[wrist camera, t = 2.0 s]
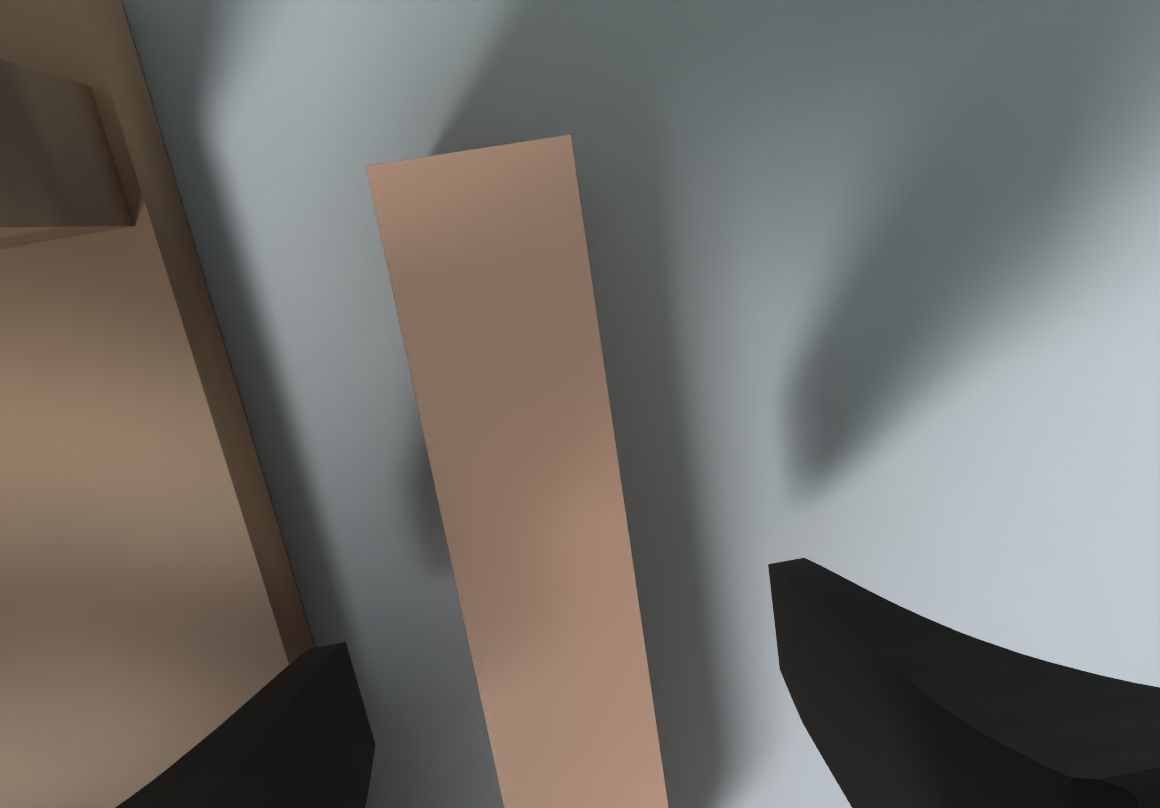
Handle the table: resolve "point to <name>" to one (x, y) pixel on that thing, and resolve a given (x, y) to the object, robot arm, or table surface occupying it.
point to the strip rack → (115, 439)
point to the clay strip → (525, 465)
